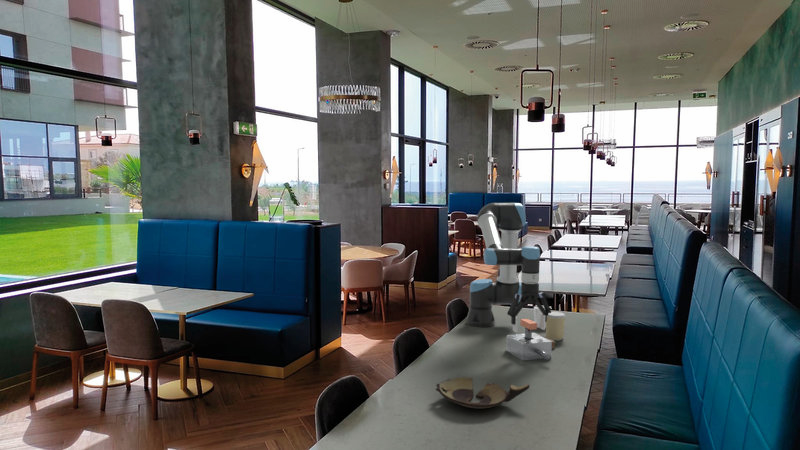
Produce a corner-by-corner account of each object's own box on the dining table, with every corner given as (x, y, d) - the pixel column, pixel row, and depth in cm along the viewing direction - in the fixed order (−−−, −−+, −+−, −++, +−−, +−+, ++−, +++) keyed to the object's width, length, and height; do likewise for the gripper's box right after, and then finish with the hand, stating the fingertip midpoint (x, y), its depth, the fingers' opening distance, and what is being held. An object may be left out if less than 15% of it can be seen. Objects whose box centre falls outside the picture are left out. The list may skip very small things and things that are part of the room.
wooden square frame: (530, 344, 249) (530, 338, 249) (545, 343, 251) (545, 336, 251) (539, 349, 241) (539, 343, 241) (554, 348, 244) (555, 341, 243)
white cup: (532, 327, 278) (533, 308, 277) (533, 324, 285) (534, 305, 284) (548, 329, 275) (549, 310, 274) (549, 325, 283) (549, 306, 282)
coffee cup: (562, 335, 264) (563, 311, 263) (566, 341, 254) (567, 316, 254) (543, 334, 265) (543, 311, 264) (546, 340, 255) (547, 315, 254)
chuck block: (506, 350, 240) (506, 335, 239) (533, 347, 244) (534, 332, 243) (533, 367, 218) (534, 350, 217) (563, 364, 222) (564, 347, 221)
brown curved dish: (452, 385, 198) (452, 365, 198) (533, 402, 183) (533, 380, 183) (424, 407, 179) (425, 385, 178) (512, 428, 164) (512, 403, 163)
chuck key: (529, 350, 231) (530, 323, 230) (520, 344, 238) (520, 319, 237) (536, 349, 232) (537, 323, 231) (526, 344, 239) (527, 318, 238)
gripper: (508, 285, 225) (507, 334, 227) (560, 282, 233) (558, 330, 234) (500, 282, 232) (499, 330, 234) (550, 279, 240) (549, 326, 242)
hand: (528, 330), depth 234 cm, fingers open, 13 cm apart
